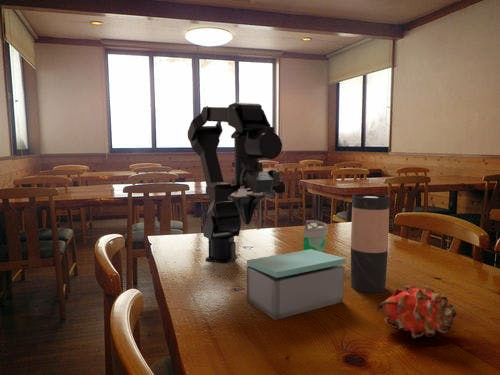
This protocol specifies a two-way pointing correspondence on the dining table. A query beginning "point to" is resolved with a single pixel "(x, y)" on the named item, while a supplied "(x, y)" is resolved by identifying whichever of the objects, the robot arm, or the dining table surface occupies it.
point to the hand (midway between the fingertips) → (246, 224)
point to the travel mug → (369, 242)
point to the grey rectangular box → (294, 291)
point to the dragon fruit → (418, 311)
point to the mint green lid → (295, 262)
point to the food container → (314, 235)
